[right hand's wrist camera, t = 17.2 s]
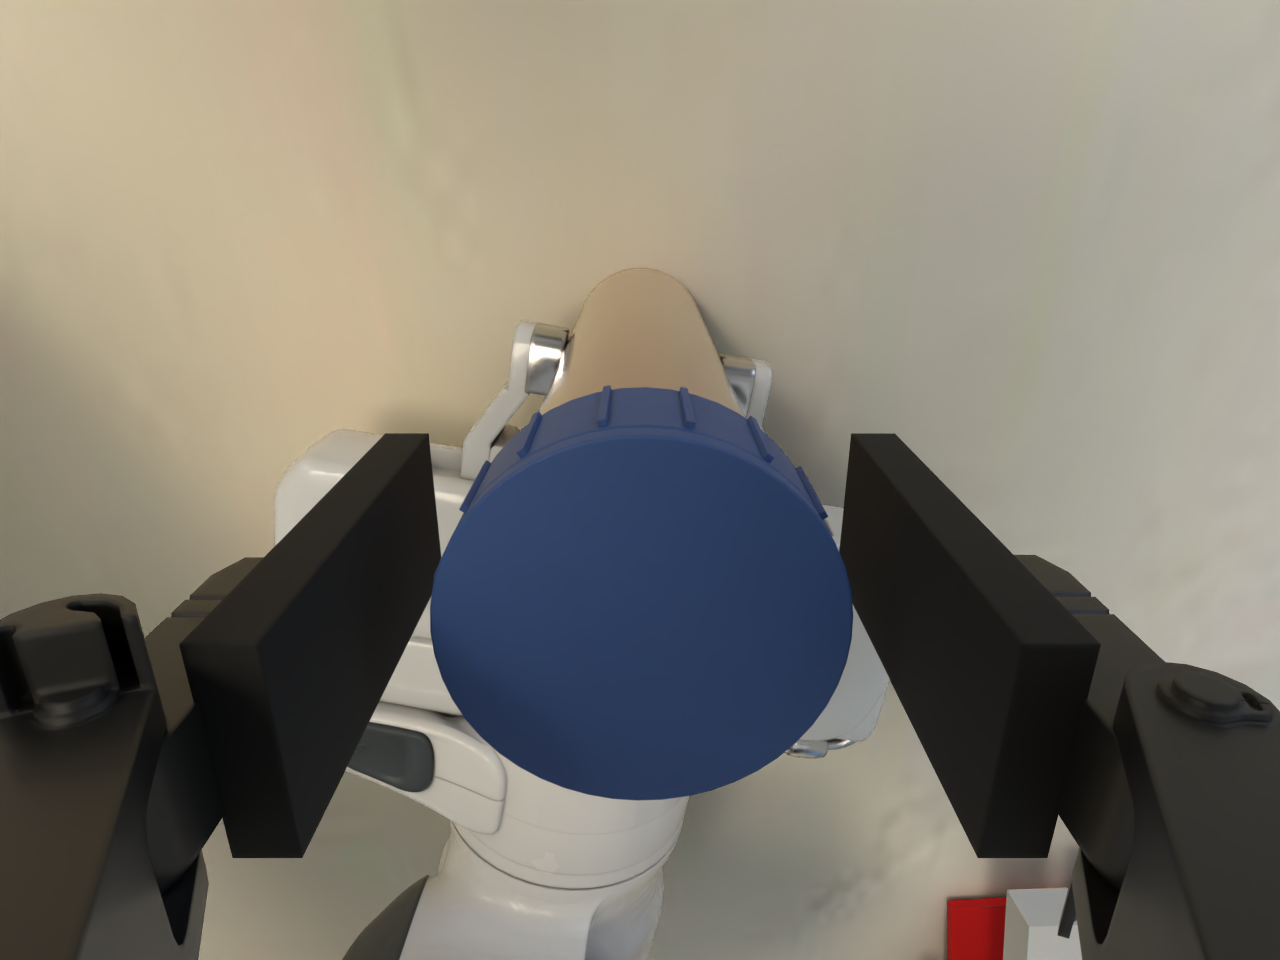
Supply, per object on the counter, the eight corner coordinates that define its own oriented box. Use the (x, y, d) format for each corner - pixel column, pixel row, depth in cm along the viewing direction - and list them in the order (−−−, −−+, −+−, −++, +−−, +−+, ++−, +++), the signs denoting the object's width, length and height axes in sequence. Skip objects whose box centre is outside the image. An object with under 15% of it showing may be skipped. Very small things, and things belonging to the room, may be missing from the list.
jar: (704, 268, 28) (824, 445, 10) (700, 392, 30) (797, 740, 12) (576, 268, 29) (459, 444, 10) (580, 392, 30) (484, 741, 12)
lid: (400, 461, 12) (346, 525, 9) (754, 326, 11) (782, 363, 9) (549, 741, 13) (533, 847, 11) (860, 642, 13) (904, 735, 11)
